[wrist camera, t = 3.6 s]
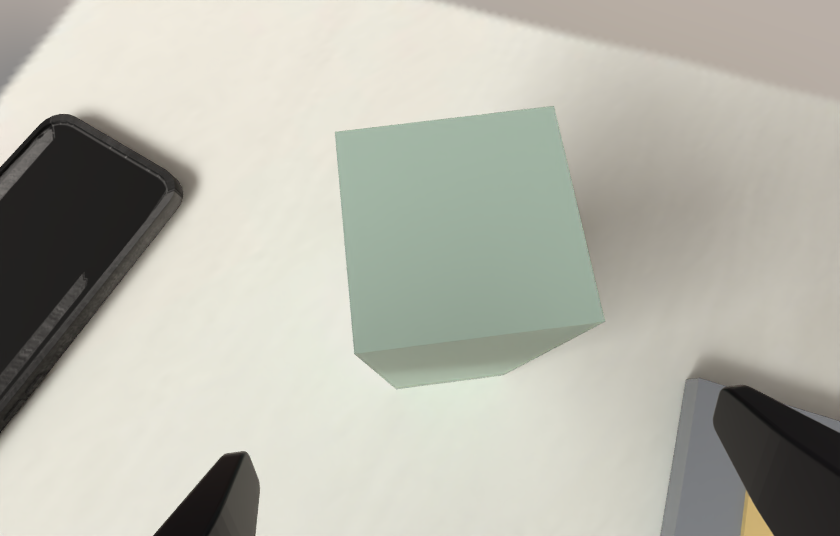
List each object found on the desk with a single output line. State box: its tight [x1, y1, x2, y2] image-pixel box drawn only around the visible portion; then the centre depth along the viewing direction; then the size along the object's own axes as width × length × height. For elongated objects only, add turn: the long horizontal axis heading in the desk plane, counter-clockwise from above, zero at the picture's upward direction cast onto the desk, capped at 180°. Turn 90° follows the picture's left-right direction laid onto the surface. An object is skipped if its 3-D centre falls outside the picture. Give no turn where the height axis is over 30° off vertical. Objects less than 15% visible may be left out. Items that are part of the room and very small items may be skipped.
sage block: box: [335, 106, 605, 389], centre depth 15 cm, size 4×4×12 cm
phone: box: [0, 114, 183, 433], centre depth 21 cm, size 8×1×15 cm
